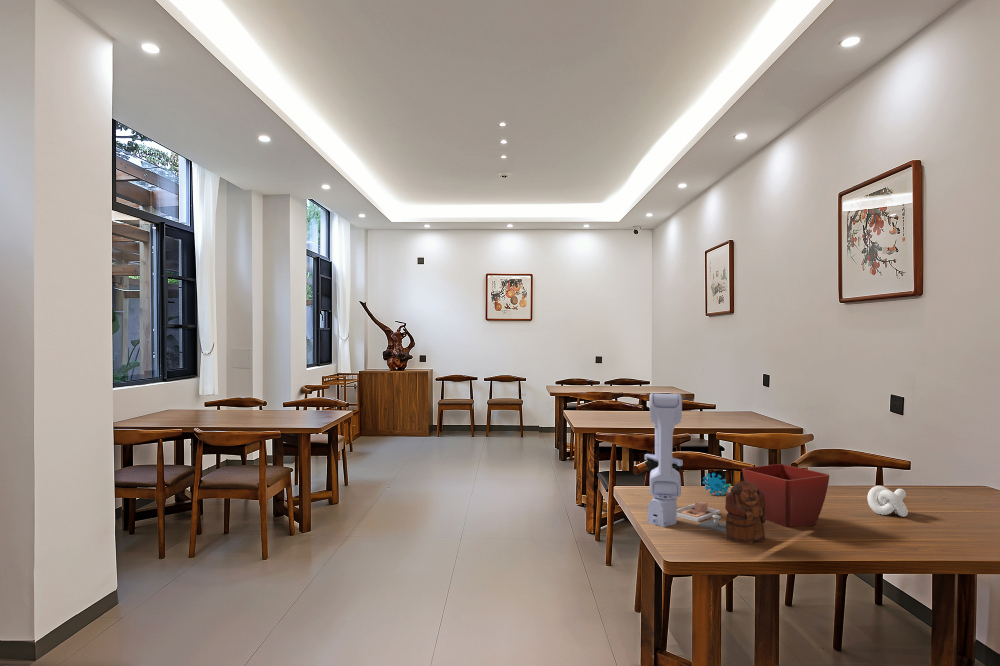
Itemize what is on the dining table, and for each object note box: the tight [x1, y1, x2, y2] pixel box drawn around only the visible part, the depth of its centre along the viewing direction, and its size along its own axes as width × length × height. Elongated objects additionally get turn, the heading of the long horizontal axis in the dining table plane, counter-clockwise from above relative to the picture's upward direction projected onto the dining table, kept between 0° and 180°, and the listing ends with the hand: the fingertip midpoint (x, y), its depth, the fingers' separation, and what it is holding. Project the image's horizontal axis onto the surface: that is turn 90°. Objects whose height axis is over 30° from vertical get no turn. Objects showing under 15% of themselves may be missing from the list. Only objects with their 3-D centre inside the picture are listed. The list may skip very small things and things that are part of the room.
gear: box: [702, 472, 732, 497], centre depth 221 cm, size 11×6×10 cm
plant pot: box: [741, 463, 830, 528], centre depth 184 cm, size 19×19×17 cm
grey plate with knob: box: [695, 514, 726, 534], centre depth 177 cm, size 9×9×4 cm
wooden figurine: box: [724, 480, 767, 545], centre depth 165 cm, size 12×6×18 cm, turn 110°
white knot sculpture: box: [866, 485, 909, 518], centre depth 193 cm, size 11×12×9 cm
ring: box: [680, 500, 709, 518], centre depth 190 cm, size 10×6×4 cm, turn 130°
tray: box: [677, 503, 721, 523], centre depth 190 cm, size 14×10×2 cm
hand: (663, 482), depth 198 cm, fingers open, 7 cm apart
